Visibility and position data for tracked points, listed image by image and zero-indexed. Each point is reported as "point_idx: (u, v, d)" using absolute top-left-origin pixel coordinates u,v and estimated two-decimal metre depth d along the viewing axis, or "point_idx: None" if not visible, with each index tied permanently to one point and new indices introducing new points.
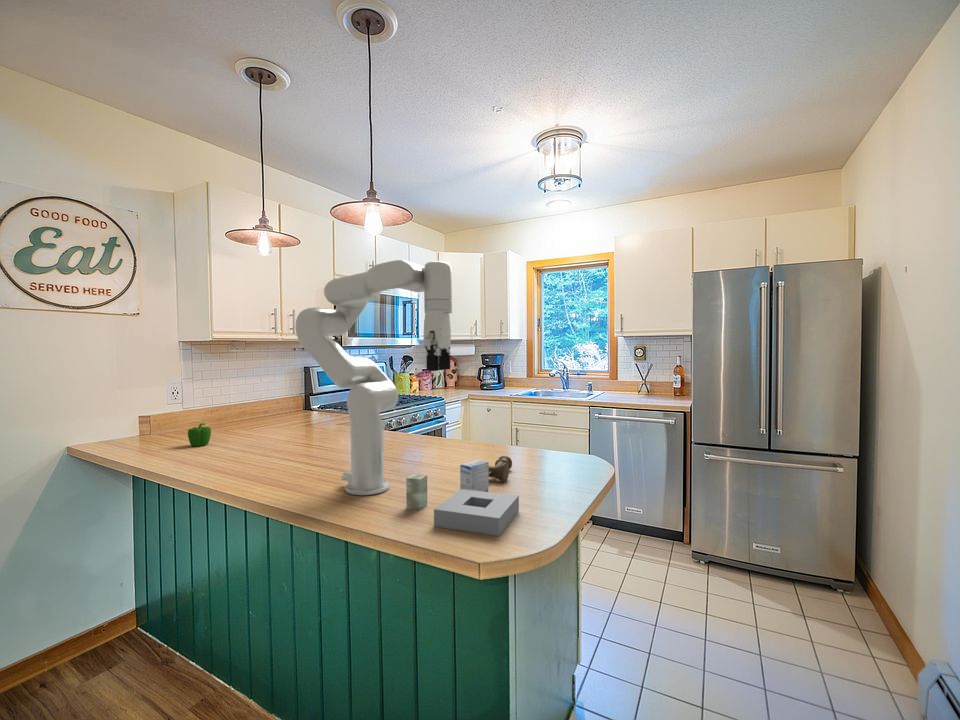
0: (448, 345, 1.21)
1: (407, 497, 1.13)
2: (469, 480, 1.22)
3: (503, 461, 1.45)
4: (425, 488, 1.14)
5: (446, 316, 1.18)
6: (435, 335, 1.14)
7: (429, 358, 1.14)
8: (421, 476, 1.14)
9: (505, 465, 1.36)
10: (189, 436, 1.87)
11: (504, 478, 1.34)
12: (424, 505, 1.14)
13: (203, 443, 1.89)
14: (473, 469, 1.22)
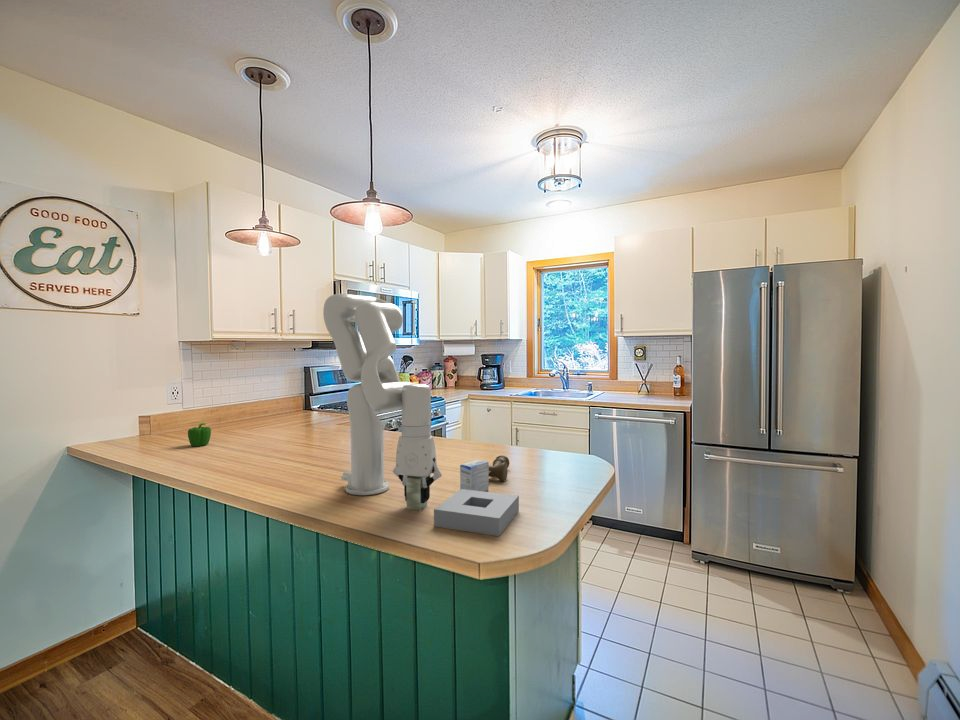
0: None
1: (407, 497, 1.13)
2: (469, 480, 1.22)
3: (501, 460, 1.46)
4: None
5: None
6: (435, 461, 1.13)
7: (427, 490, 1.12)
8: None
9: (504, 464, 1.36)
10: (189, 436, 1.87)
11: (504, 477, 1.35)
12: (424, 505, 1.14)
13: (203, 443, 1.89)
14: (473, 469, 1.22)
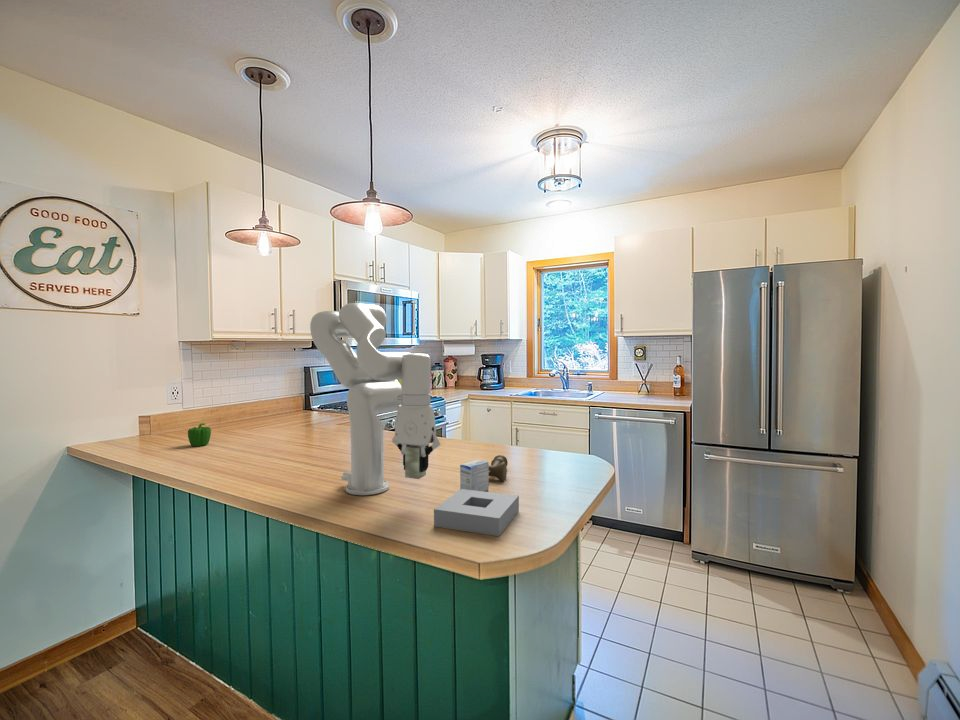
0: None
1: (406, 466, 1.13)
2: (469, 480, 1.22)
3: (499, 460, 1.46)
4: None
5: None
6: (434, 431, 1.13)
7: (425, 459, 1.13)
8: None
9: (504, 464, 1.37)
10: (189, 436, 1.87)
11: (503, 477, 1.36)
12: (423, 474, 1.14)
13: (203, 443, 1.89)
14: (473, 469, 1.22)
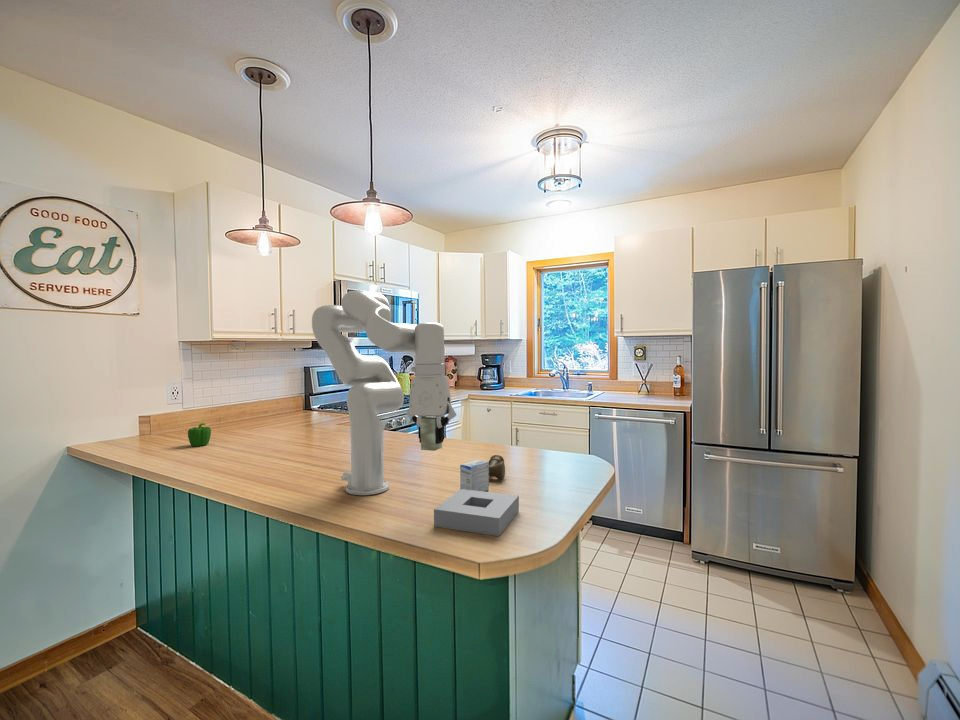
0: None
1: (421, 438, 1.10)
2: (469, 480, 1.22)
3: (497, 460, 1.47)
4: None
5: None
6: (449, 401, 1.11)
7: (441, 430, 1.10)
8: (435, 417, 1.12)
9: (503, 464, 1.38)
10: (189, 436, 1.87)
11: (502, 476, 1.36)
12: (439, 447, 1.11)
13: (203, 443, 1.89)
14: (473, 469, 1.22)
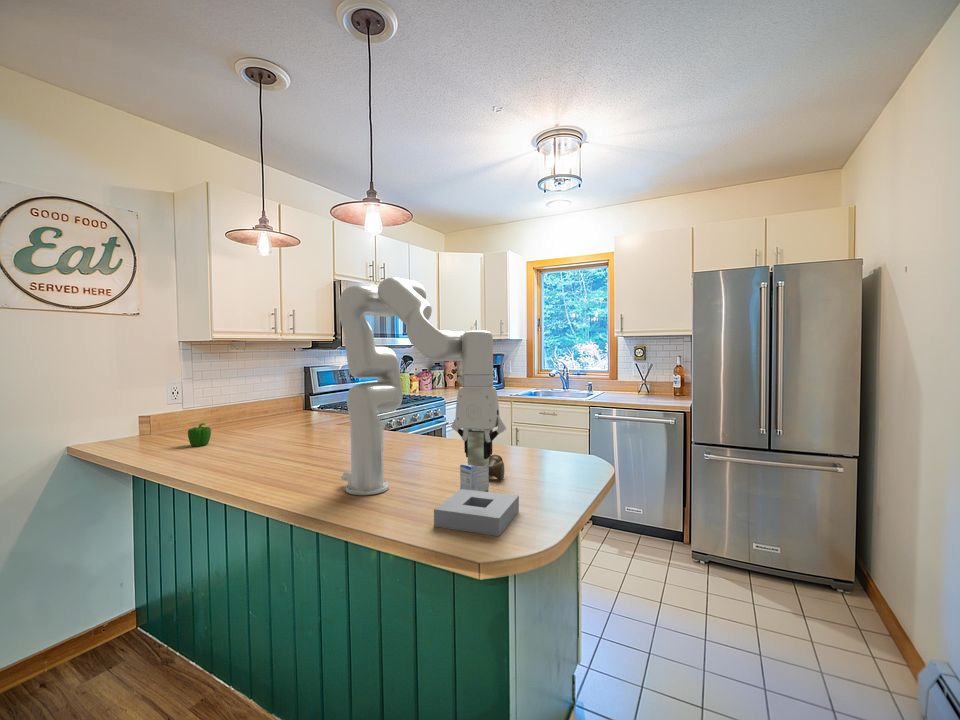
0: None
1: (468, 452, 1.04)
2: (469, 480, 1.22)
3: (496, 460, 1.47)
4: None
5: None
6: (498, 414, 1.05)
7: (490, 445, 1.04)
8: (483, 430, 1.06)
9: (502, 463, 1.38)
10: (189, 436, 1.87)
11: (502, 476, 1.37)
12: (486, 461, 1.05)
13: (203, 443, 1.89)
14: (473, 469, 1.22)
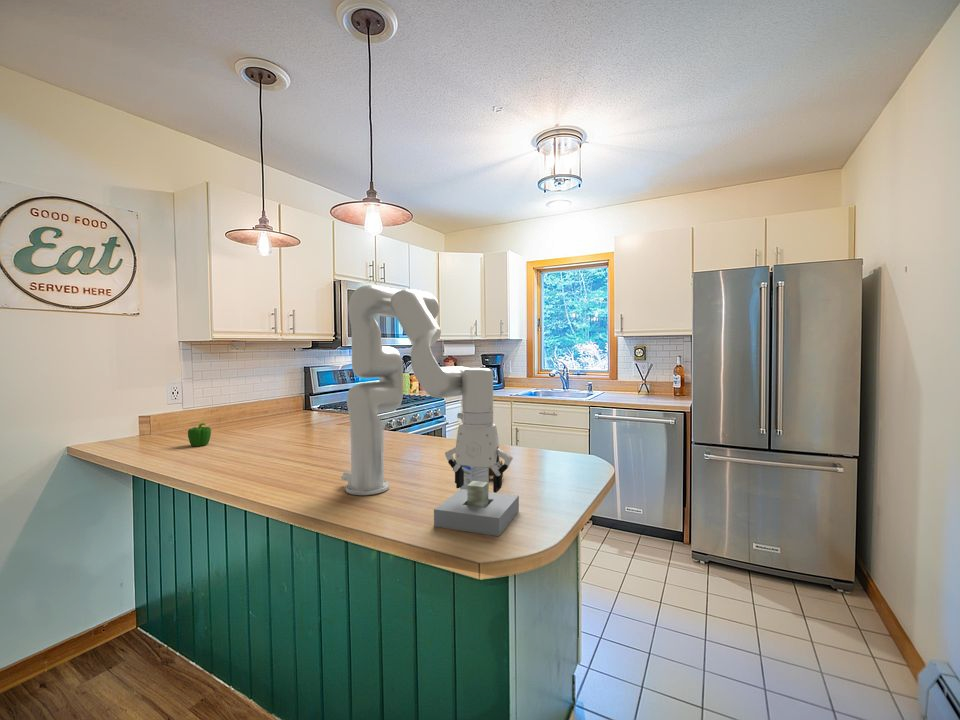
0: None
1: None
2: (469, 480, 1.22)
3: None
4: (487, 496, 1.06)
5: None
6: None
7: (500, 478, 1.03)
8: (482, 483, 1.06)
9: (501, 463, 1.39)
10: (189, 436, 1.87)
11: None
12: None
13: (203, 443, 1.89)
14: (473, 469, 1.22)
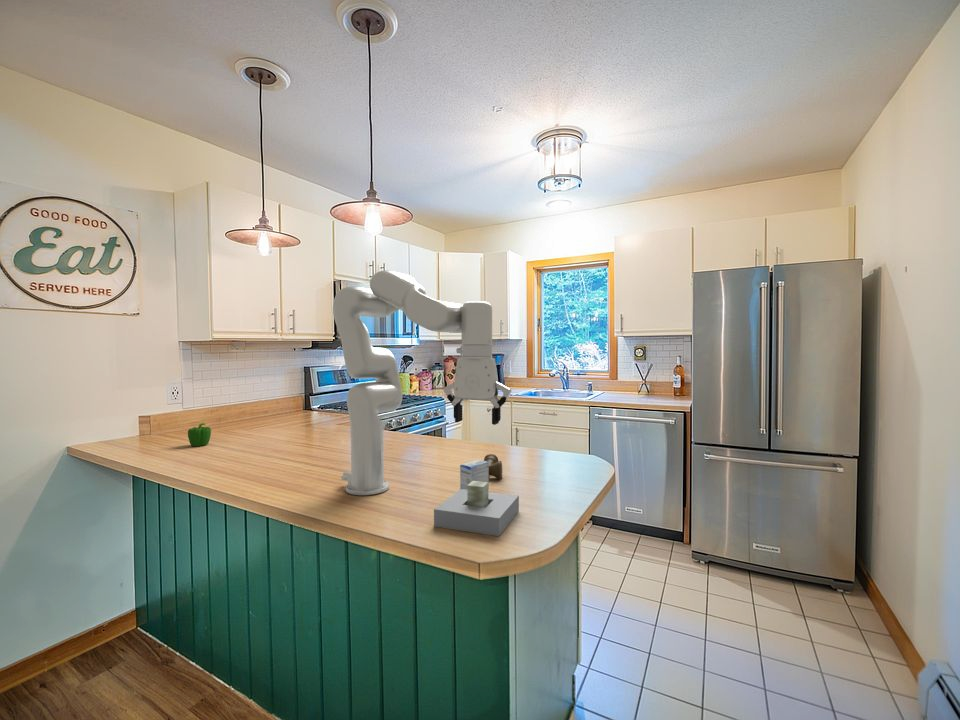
0: None
1: None
2: (469, 480, 1.22)
3: (492, 459, 1.48)
4: (487, 496, 1.06)
5: None
6: None
7: (498, 410, 1.04)
8: (482, 483, 1.06)
9: (501, 463, 1.39)
10: (189, 436, 1.87)
11: (501, 475, 1.37)
12: None
13: (203, 443, 1.89)
14: (473, 469, 1.22)
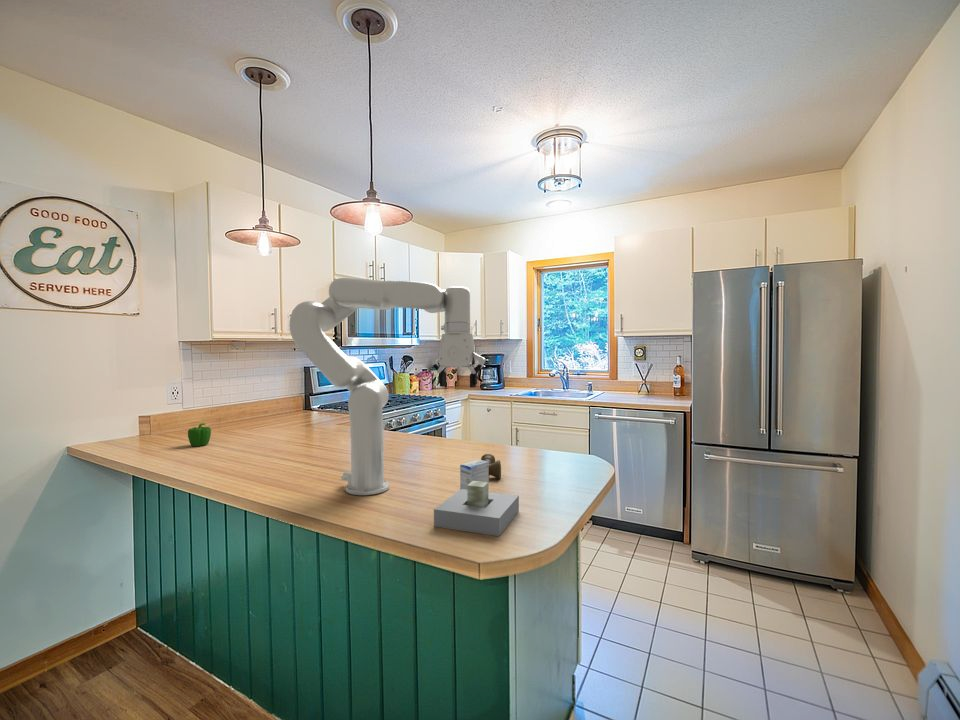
0: None
1: None
2: (469, 480, 1.22)
3: (490, 459, 1.49)
4: (487, 496, 1.06)
5: None
6: None
7: (475, 376, 1.26)
8: (482, 483, 1.06)
9: (500, 462, 1.39)
10: (189, 436, 1.87)
11: (500, 475, 1.38)
12: None
13: (203, 443, 1.89)
14: (473, 469, 1.22)
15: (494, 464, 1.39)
